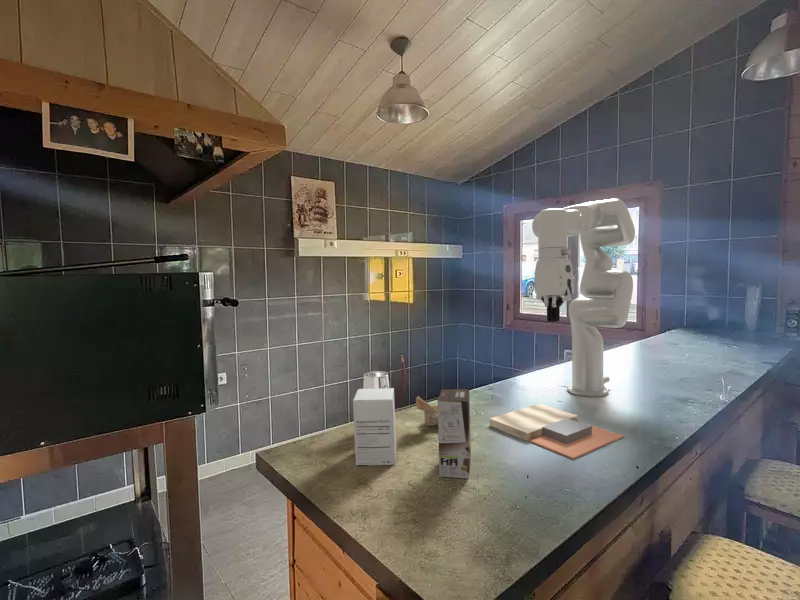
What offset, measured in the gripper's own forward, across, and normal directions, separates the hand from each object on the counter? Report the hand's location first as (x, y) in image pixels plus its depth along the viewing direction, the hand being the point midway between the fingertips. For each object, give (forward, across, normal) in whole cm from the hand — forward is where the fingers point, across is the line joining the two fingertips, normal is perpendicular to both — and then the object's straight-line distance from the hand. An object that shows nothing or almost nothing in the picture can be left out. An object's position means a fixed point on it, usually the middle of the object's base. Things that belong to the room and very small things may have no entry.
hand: (553, 321), depth 117 cm
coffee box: (+27, -7, +42) cm, 51 cm away
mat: (+27, -13, +9) cm, 32 cm away
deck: (+27, 0, +9) cm, 29 cm away
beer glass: (+27, +23, +44) cm, 57 cm away
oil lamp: (+27, +16, +27) cm, 42 cm away
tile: (+26, -11, +9) cm, 29 cm away
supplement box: (+27, +8, +53) cm, 60 cm away
